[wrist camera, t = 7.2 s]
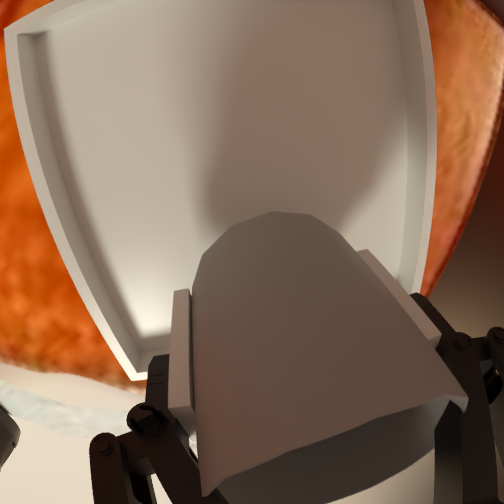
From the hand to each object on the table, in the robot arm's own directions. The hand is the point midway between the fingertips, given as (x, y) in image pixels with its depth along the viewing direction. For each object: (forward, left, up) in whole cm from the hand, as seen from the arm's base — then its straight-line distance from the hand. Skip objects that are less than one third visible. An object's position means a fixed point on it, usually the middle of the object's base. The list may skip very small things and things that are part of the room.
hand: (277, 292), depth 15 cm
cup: (0, 0, -1) cm, 1 cm away
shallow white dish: (0, +5, -6) cm, 8 cm away
